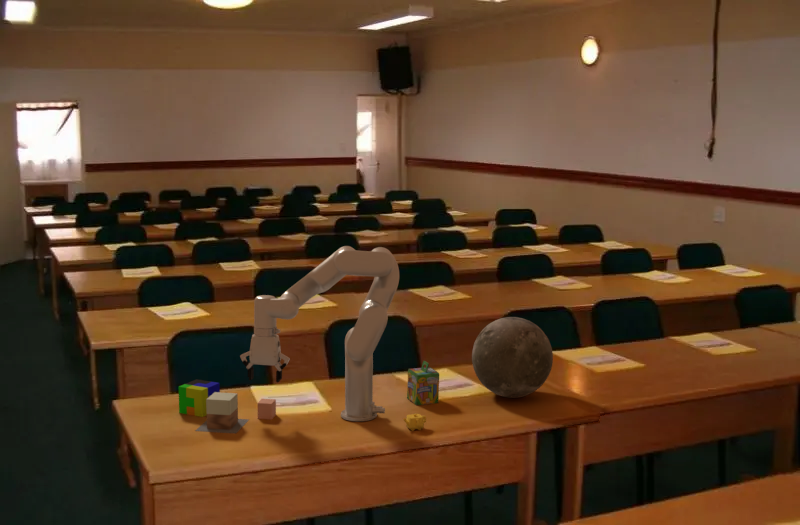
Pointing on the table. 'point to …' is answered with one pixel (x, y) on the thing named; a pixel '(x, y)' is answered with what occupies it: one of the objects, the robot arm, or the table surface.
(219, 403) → the tower top
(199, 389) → the puzzle toy
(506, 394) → the globe
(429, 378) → the chalk box
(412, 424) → the teapot
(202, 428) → the mat
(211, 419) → the tower base
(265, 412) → the terracotta block
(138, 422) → the table surface
